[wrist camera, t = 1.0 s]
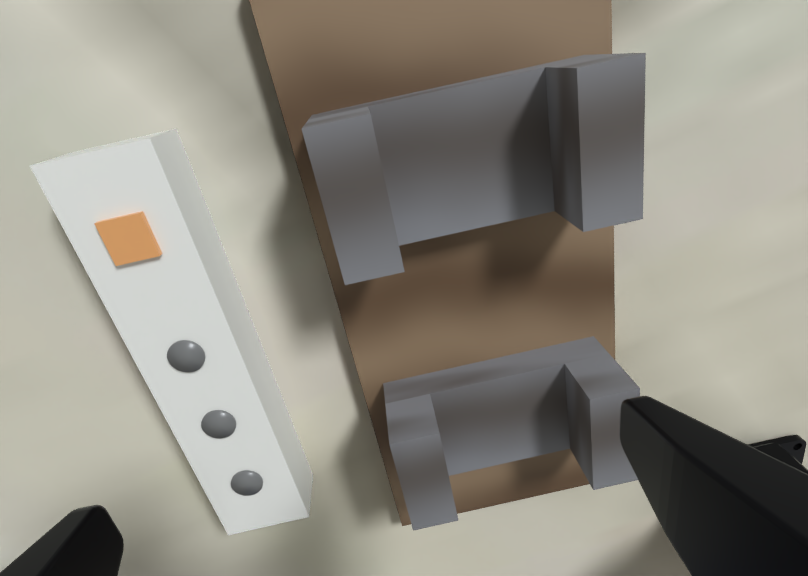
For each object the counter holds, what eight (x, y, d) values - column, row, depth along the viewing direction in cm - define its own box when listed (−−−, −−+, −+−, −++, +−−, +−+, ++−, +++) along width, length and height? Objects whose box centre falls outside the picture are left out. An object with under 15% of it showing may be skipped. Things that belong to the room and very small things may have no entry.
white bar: (313, 469, 26) (308, 521, 23) (241, 486, 26) (226, 539, 23) (179, 126, 18) (146, 139, 16) (77, 150, 18) (24, 167, 16)
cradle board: (607, 464, 28) (657, 542, 23) (400, 510, 28) (410, 598, 23) (595, -97, 16) (688, -157, 12) (247, -20, 16) (208, -52, 12)
